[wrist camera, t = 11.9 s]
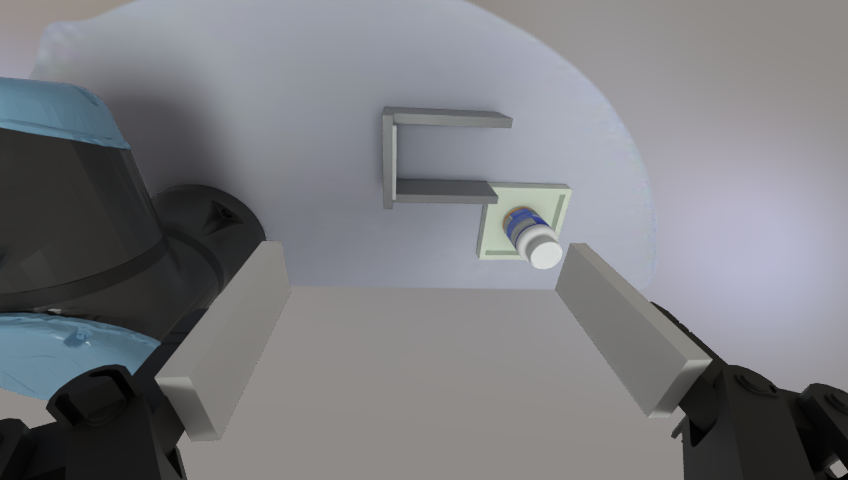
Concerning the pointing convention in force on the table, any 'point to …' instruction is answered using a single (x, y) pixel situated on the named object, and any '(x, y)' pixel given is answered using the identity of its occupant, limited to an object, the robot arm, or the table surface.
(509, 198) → the tray
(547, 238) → the pill bottle
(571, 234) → the table surface
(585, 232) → the table surface
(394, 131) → the bay
